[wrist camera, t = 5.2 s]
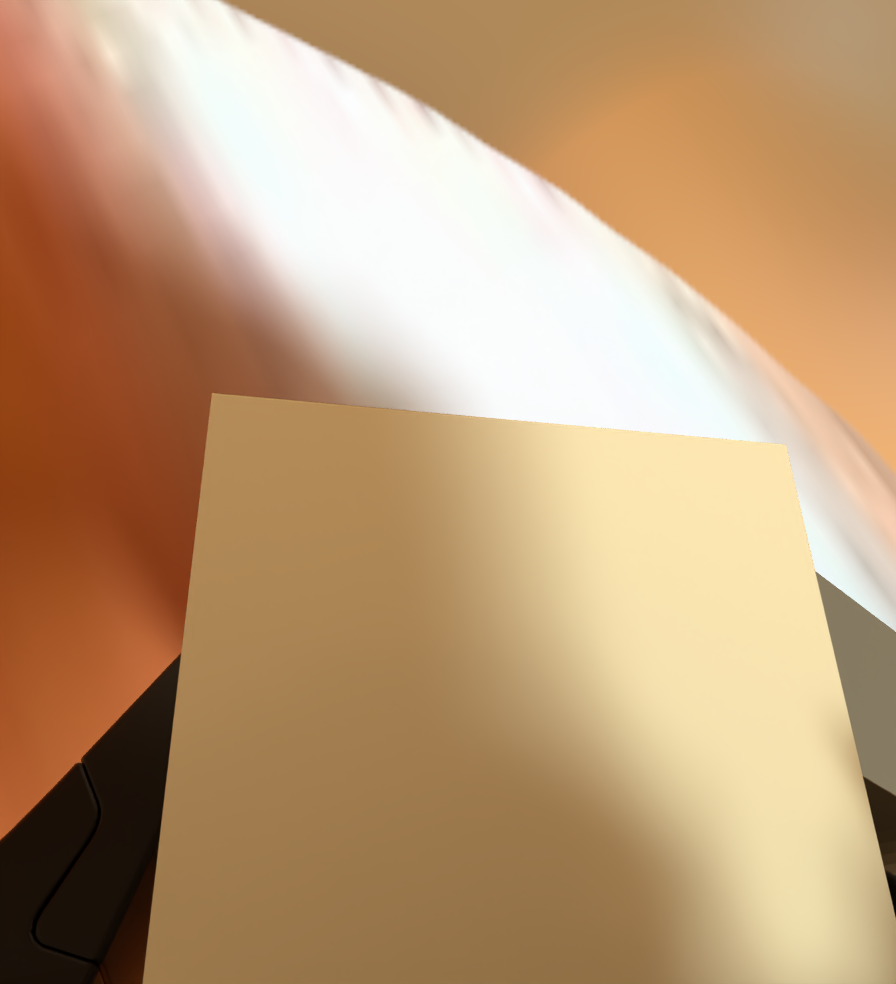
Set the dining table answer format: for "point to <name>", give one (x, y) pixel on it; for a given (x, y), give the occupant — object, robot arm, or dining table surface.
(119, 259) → the dining table surface
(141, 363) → the dining table surface
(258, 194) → the dining table surface
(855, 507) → the dining table surface
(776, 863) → the tall cream pillar
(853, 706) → the mat
